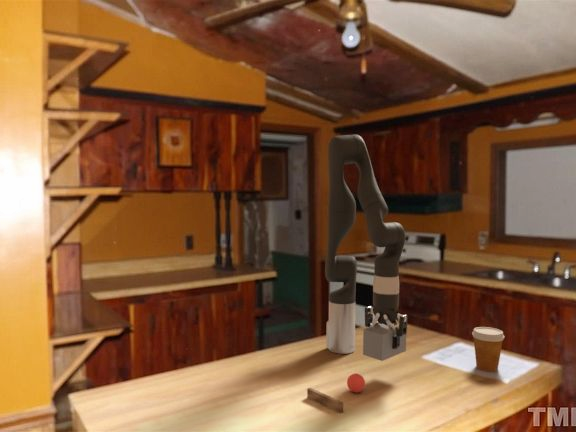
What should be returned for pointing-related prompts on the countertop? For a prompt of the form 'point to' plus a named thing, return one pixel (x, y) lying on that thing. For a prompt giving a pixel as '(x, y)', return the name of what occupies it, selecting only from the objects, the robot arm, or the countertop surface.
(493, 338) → the disposable coffee cup
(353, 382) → the ball
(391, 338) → the grey rectangular block
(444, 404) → the countertop surface
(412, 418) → the countertop surface
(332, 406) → the stopper
